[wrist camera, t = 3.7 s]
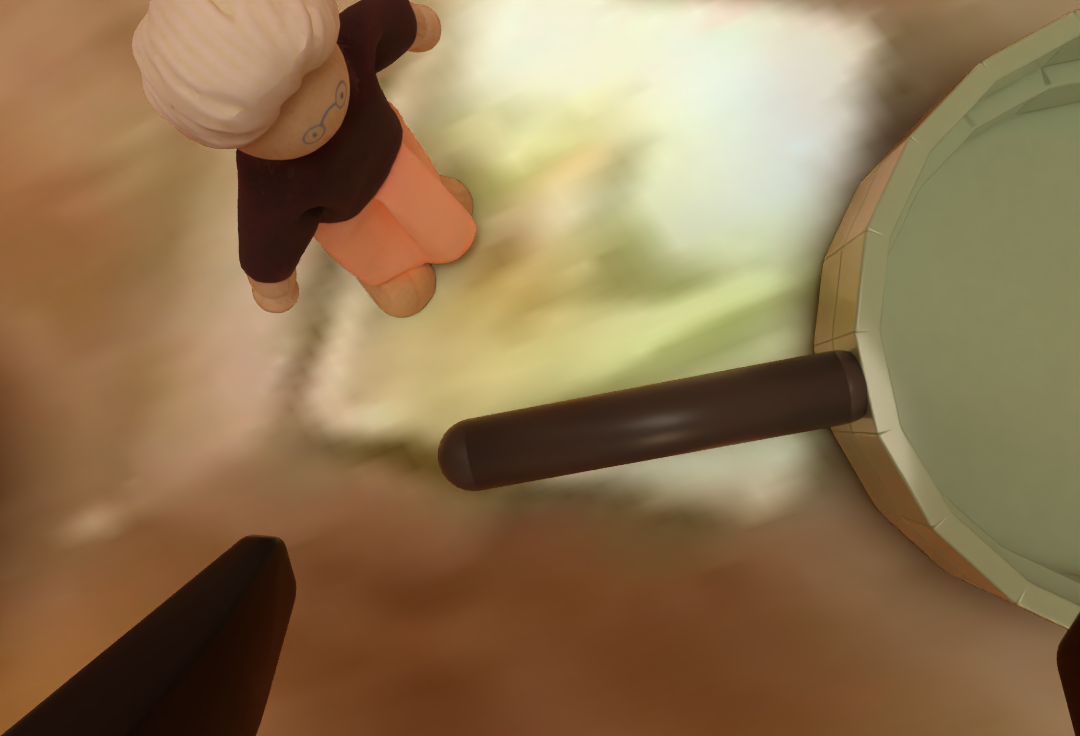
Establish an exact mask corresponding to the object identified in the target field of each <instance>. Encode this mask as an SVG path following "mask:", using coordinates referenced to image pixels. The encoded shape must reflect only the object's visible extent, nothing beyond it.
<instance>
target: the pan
mask: <svg viewBox="0 0 1080 736" xmlns="http://www.w3.org/2000/svg"><path fill="white" fill-rule="evenodd" d="M814 345H815V346H814V351H815V354H816V353H821V352H827V351H834V350H841V351H848V352H851V353H852V354H853V355H854V356H855V358H856V359H857V361H858V363H859V365H860V367H861V370H862V372H863V375H864V378H865V381H866V386H867V411H866V414H865V416H864V417H862V418H861V419H859V420H857V421H855V422H852V423H849V424H845V425H839V426H834V427H831V430H832V431H833V434H834V436H835V438H836V439H837V441H838V443H839V445H840V446H841V448H842V450H843V451H844V453H845V455H846V457H847V458H848V460H849V462H850V463H851V465H852V467H853V469H854V470H855V472H856V474H857V476H858V477H859V479H860V481H861V482H862V484H863V486H864V488H865V489H866V491H867V493H868V494H869V496H870V498H871V500H872V501H873V503H874V505H875V507H876V508H878V509H879V511H880V512H881V513H882V514H883V515H884V516H885V517H886V518H887V519H888V520H889V521H890V522H892V523H893V524H894V525H895V526H896V527H897V528H898V529H899V530H900V531H901V532H903V533H904V534H905V535H906V536H907V537H908V538H909V539H910V540H911V541H912V542H913V543H915V544H916V545H917V546H918V547H919V548H920V549H921V550H922V551H923V552H924V553H926V554H927V555H928V556H929V557H930V558H931V559H932V560H933V561H934V562H935V563H937V564H938V565H939V566H940V567H941V568H942V569H943V570H945V571H947V572H948V573H949V574H951V575H953V576H955V577H957V578H959V579H961V580H963V581H965V582H967V583H970V584H972V585H974V586H976V587H978V588H980V589H982V590H984V591H986V592H989V593H991V594H993V595H995V596H997V597H999V598H1001V599H1003V600H1005V601H1008V602H1010V603H1012V604H1014V605H1016V606H1018V607H1020V608H1022V609H1024V610H1027V611H1029V612H1031V613H1033V614H1035V615H1037V616H1039V617H1042V618H1044V619H1046V620H1048V621H1050V622H1052V623H1054V624H1057V625H1059V626H1061V627H1063V628H1065V629H1067V630H1068V629H1069V628H1070V626H1071V625H1072V623H1073V621H1074V620H1075V618H1076V617H1077V615H1078V613H1079V612H1080V9H1077V10H1075V11H1073V12H1069V13H1067V14H1066V15H1064V16H1062V17H1060V18H1058V19H1057V20H1055V21H1053V22H1051V23H1049V24H1047V25H1046V26H1044V27H1042V28H1040V29H1038V30H1037V31H1035V32H1033V33H1031V34H1029V35H1028V36H1026V37H1024V38H1022V39H1020V40H1019V41H1017V42H1015V43H1013V44H1011V45H1010V46H1008V47H1006V48H1004V49H1002V50H1001V51H999V52H997V53H995V54H993V55H992V56H990V57H988V58H986V59H984V60H983V61H981V62H980V63H979V64H977V65H976V66H975V67H974V68H973V69H972V70H971V71H970V72H969V73H968V74H967V75H966V76H965V77H963V78H962V79H961V80H960V81H959V82H958V83H957V84H956V85H955V86H954V87H953V88H952V89H951V90H950V91H949V92H948V93H947V94H946V95H945V96H944V97H943V98H942V99H941V100H940V101H939V102H938V103H937V104H936V105H934V106H933V107H932V108H931V109H930V110H929V111H928V112H927V113H926V114H925V115H924V116H923V117H922V118H921V119H920V120H919V121H918V122H917V123H916V124H915V125H914V126H913V127H912V128H911V129H910V130H909V131H908V132H907V133H906V134H905V136H904V137H903V138H902V139H901V140H900V141H899V142H898V143H897V144H896V145H895V146H894V147H893V148H892V149H891V150H890V151H889V152H888V154H887V155H886V156H885V157H884V158H883V159H882V160H881V161H880V162H879V163H878V164H877V165H876V166H875V167H874V168H873V169H872V170H871V172H870V173H869V174H868V175H867V176H866V177H865V178H864V179H863V180H862V182H861V184H860V185H859V186H858V188H857V190H856V192H855V194H854V196H853V199H852V201H851V203H850V205H849V207H848V209H847V211H846V213H845V216H844V218H843V220H842V222H841V224H840V226H839V228H838V231H837V233H836V235H835V237H834V239H833V241H832V243H831V246H830V248H829V250H828V252H827V254H826V256H825V261H824V263H823V268H822V277H821V286H820V294H819V303H818V312H817V321H816V330H815V339H814Z"/></svg>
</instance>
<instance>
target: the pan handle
mask: <svg viewBox="0 0 1080 736" xmlns="http://www.w3.org/2000/svg"><path fill="white" fill-rule="evenodd" d="M866 411H867V386H866V381H865V378H864V375H863V372H862V370H861V367H860V365H859V363H858V361H857V359H856V358H855V356H854V355H853V354H852V353H851V352H848V351H841V350H834V351H827V352H821V353H816V354H811V355H805V356H800V357H795V358H789V359H784V360H779V361H774V362H768V363H763V364H758V365H752V366H747V367H742V368H736V369H731V370H726V371H720V372H715V373H710V374H705V375H699V376H694V377H689V378H683V379H678V380H673V381H667V382H662V383H657V384H651V385H646V386H641V387H636V388H630V389H625V390H620V391H614V392H609V393H604V394H598V395H593V396H588V397H582V398H577V399H572V400H567V401H561V402H556V403H551V404H545V405H540V406H535V407H529V408H524V409H519V410H513V411H508V412H503V413H498V414H492V415H487V416H482V417H476V418H471V419H466V420H463V421H460V422H458V423H456V424H455V425H453V426H452V427H451V428H449V429H448V430H447V432H446V433H445V434H444V436H443V438H442V439H441V441H440V445H439V448H438V462H439V466H440V469H441V471H442V473H443V474H444V476H445V477H446V479H447V480H448V481H449V482H451V483H452V484H453V485H455V486H456V487H458V488H461V489H463V490H469V491H479V490H485V489H491V488H497V487H502V486H508V485H513V484H519V483H524V482H530V481H535V480H541V479H546V478H552V477H557V476H563V475H568V474H574V473H579V472H585V471H590V470H596V469H602V468H607V467H613V466H618V465H624V464H629V463H635V462H640V461H646V460H651V459H657V458H662V457H668V456H673V455H679V454H684V453H690V452H695V451H701V450H707V449H712V448H718V447H723V446H729V445H734V444H740V443H745V442H751V441H756V440H762V439H767V438H773V437H778V436H784V435H789V434H795V433H800V432H806V431H812V430H817V429H823V428H828V427H834V426H839V425H845V424H849V423H852V422H855V421H857V420H859V419H861V418H862V417H864V416H865V414H866Z"/></svg>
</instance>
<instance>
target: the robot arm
mask: <svg viewBox="0 0 1080 736" xmlns="http://www.w3.org/2000/svg"><path fill="white" fill-rule="evenodd" d="M295 597H296V580H295V576H294V573H293V569H292V566H291V562H290V559H289V556H288V552H287V549H286V545H285V543H284V541H283V540H282V539H281V538H280V537H276V536H264V535H248V536H246V537H244V538H242V539H241V540H239V541H238V542H237V543H236V544H234V545H233V546H232V547H231V548H229V549H228V550H227V551H226V552H225V553H223V554H222V555H221V556H220V557H218V558H217V559H216V560H215V561H214V562H212V563H211V564H210V565H209V566H207V567H206V568H205V569H204V570H203V571H201V572H200V573H199V574H198V575H196V576H195V577H194V578H193V579H192V580H190V581H189V582H188V583H187V584H186V585H184V586H183V587H182V588H181V589H179V590H178V591H177V592H176V593H175V594H173V595H172V596H171V597H170V598H168V599H167V600H166V601H165V602H164V603H162V604H161V605H160V606H159V607H157V608H156V609H155V610H154V611H153V612H151V613H150V614H149V615H148V616H146V617H145V618H144V619H143V620H142V621H140V622H139V623H138V624H137V625H135V626H134V627H133V628H132V629H131V630H129V631H128V632H127V633H126V634H124V635H123V636H122V637H121V638H120V639H118V640H117V641H116V642H115V643H113V644H112V645H111V646H110V647H109V648H107V649H106V650H105V651H104V652H102V653H101V654H100V655H99V656H98V657H96V658H95V659H94V660H93V661H91V662H90V663H89V664H88V665H87V666H85V667H84V668H83V669H82V670H80V671H79V672H78V673H77V674H76V675H74V676H73V677H72V678H71V679H69V680H68V681H67V682H66V683H65V684H63V685H62V686H61V687H60V688H58V689H57V690H56V691H55V692H54V693H52V694H51V695H50V696H49V697H47V698H46V699H45V700H44V701H43V702H41V703H40V704H39V705H38V706H36V707H35V708H34V709H33V710H32V711H30V712H29V713H28V714H27V715H25V716H24V717H23V718H22V719H21V720H19V721H18V722H17V723H16V724H15V725H13V726H12V727H11V728H10V729H8V730H7V731H6V732H5V733H4V734H2V735H1V736H256V734H257V731H258V728H259V726H260V723H261V720H262V716H263V713H264V710H265V706H266V703H267V700H268V696H269V692H270V689H271V685H272V681H273V678H274V674H275V671H276V667H277V663H278V660H279V656H280V653H281V649H282V645H283V642H284V638H285V635H286V631H287V627H288V624H289V620H290V617H291V613H292V609H293V606H294V602H295ZM1057 666H1058V671H1059V675H1060V679H1061V682H1062V686H1063V690H1064V694H1065V698H1066V702H1067V705H1068V709H1069V713H1070V717H1071V721H1072V724H1073V728H1074V732H1075V736H1080V612H1079V613H1078V615H1077V617H1076V618H1075V620H1074V621H1073V623H1072V625H1071V626H1070V628H1069V629H1068V631H1067V632H1066V634H1065V636H1064V637H1063V639H1062V640H1061V642H1060V644H1059V647H1058V651H1057Z"/></svg>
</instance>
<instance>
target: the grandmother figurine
mask: <svg viewBox="0 0 1080 736" xmlns="http://www.w3.org/2000/svg"><path fill="white" fill-rule="evenodd" d="M440 36H441V24H440V19H439V18H438V16H437V14H436V13H435V12H434V11H433V10H432V9H431V8H429V7H427V6H424V5H420V4H414V3H411V2H409V0H361V1H359V2H357V3H355V4H353V5H352V6H350V7H348V8H347V9H345V10H344V11H343V12H341V13H340V14H339V12H338V8H337V4H336V1H335V0H151V1H150V4H149V10H148V12H147V13H146V15H145V17H144V18H143V20H142V21H141V22H140V23H139V25H138V26H137V28H136V29H135V32H134V35H133V40H132V52H133V55H134V58H135V60H136V62H137V64H138V66H139V68H140V70H141V75H142V83H143V88H144V93H145V96H146V98H147V99H148V101H149V103H150V104H151V105H152V107H153V108H154V109H155V110H156V111H157V113H158V114H159V115H160V116H161V117H162V118H164V119H165V120H166V121H168V122H169V123H170V124H172V125H173V126H174V127H175V128H176V129H178V130H179V131H180V132H181V133H183V134H184V135H185V136H186V137H187V138H189V139H191V140H194V141H196V142H198V143H200V144H202V145H204V146H207V147H211V148H215V149H234V148H237V151H236V162H237V169H238V234H239V260H240V264H241V267H242V269H243V270H244V271H245V273H246V274H247V276H248V280H249V282H250V284H251V286H252V292H253V296H254V299H255V301H256V302H257V304H258V305H259V306H260V307H261V308H262V309H264V310H265V311H268V312H272V313H282V312H285V311H287V310H289V309H290V308H292V307H293V305H294V304H295V303H296V302H297V299H298V296H299V288H298V284H297V281H296V266H297V264H298V263H299V260H300V258H301V256H302V254H303V253H304V252H305V249H306V248H307V246H308V244H309V243H310V241H311V239H312V238H313V236H314V237H315V238H316V239H317V240H318V242H319V243H320V244H321V245H322V247H323V248H324V249H325V250H326V252H328V253H329V254H330V255H331V256H332V257H333V258H334V259H335V260H336V261H337V262H338V263H339V264H340V265H342V266H343V267H344V268H345V269H346V270H348V271H349V272H350V273H352V274H353V275H355V276H356V277H357V279H358V280H359V282H360V283H361V284H362V286H363V287H364V288H365V289H366V291H367V292H368V293H369V295H370V296H371V297H372V299H373V300H374V301H375V302H376V304H377V305H378V306H379V307H380V308H381V309H382V310H383V311H384V312H386V313H387V314H389V315H392V316H395V317H408V316H411V315H414V314H416V313H418V312H419V311H420V310H421V309H422V308H423V307H424V306H425V305H426V304H427V303H428V302H429V300H430V299H431V298H432V296H433V293H434V290H435V284H436V278H435V274H434V270H433V269H432V267H431V265H430V264H429V263H448V262H451V261H454V260H456V259H457V258H459V257H460V256H461V255H463V254H464V253H465V252H466V251H467V250H468V249H469V248H470V246H471V244H472V242H473V240H474V237H475V234H476V227H477V226H476V224H475V221H474V220H473V218H472V217H471V216H472V212H473V202H472V197H471V194H470V192H469V191H468V189H467V188H466V187H465V186H464V185H463V184H462V183H461V182H460V181H458V180H455V179H453V178H449V177H445V176H441V175H438V173H437V171H436V169H435V167H434V166H433V164H432V162H431V161H430V159H429V157H428V156H427V154H426V153H425V151H424V150H423V148H422V147H421V145H420V144H419V142H418V141H417V139H416V138H415V136H414V135H413V134H412V132H411V131H410V129H409V128H408V127H407V126H406V124H405V122H404V120H403V118H402V116H401V115H400V113H399V112H398V110H397V109H396V108H395V107H394V106H393V105H392V104H391V103H390V102H389V101H387V100H386V97H385V95H384V94H383V91H382V90H381V88H380V85H379V83H378V79H377V76H376V73H377V72H379V71H381V70H383V69H384V68H386V67H388V66H389V65H391V64H392V63H393V62H394V61H396V60H397V59H398V58H399V57H400V56H402V55H403V54H404V53H405V52H406V51H411V52H425V51H428V50H430V49H432V48H433V47H434V46H435V45H436V44H437V43H438V41H439V39H440Z"/></svg>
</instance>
